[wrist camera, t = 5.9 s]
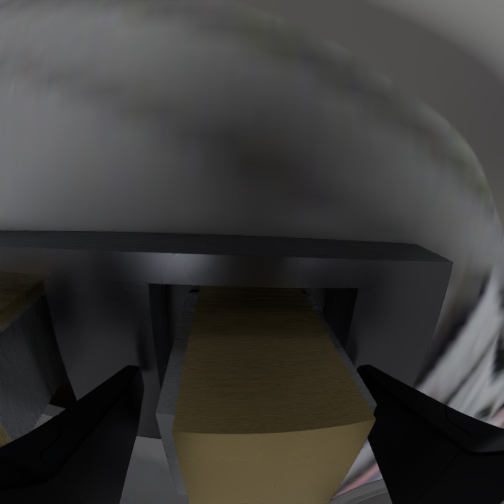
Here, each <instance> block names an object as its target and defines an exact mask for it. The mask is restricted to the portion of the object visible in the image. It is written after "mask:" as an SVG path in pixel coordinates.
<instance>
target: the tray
mask: <svg viewBox="0 0 504 504" xmlns="http://www.w3.org/2000/svg"><path fill="white" fill-rule="evenodd" d="M452 265H453V262H452V261H450V260H448V259H446V258H444V257H442V256H440V255H438V254H436V253H433V252H431V251H429V250H427V249H425V248H423V247H421V246H419V245H416V244H400V243H383V242H366V241H347V240H328V239H307V238H285V237H262V236H236V235H208V234H176V233H139V232H88V231H0V271H5V272H15V273H24V274H34V275H43V280H44V286H45V292H46V297H47V302H48V306H49V311H50V315H51V319H52V324H53V328H54V331H55V335H56V339H57V342H58V346H59V349H60V353H61V356H62V359H63V362H64V366H65V369H66V372H67V375H66V376H65V378H64V380H63V381H62V383H61V384H60V386H59V387H58V389H57V390H56V392H55V394H54V395H53V397H52V398H51V400H50V402H49V403H48V405H47V407H46V408H45V410H44V412H43V414H46V415H49V416H52V417H54V416H56V415H59V413H60V412H62V411H63V410H65V409H66V408H68V407H69V406H70V405H72V404H73V403H75V402H76V401H78V400H79V399H80V398H82V397H83V396H85V395H86V394H87V393H89V392H90V391H92V390H93V389H95V388H96V387H97V386H99V385H100V384H102V383H103V382H104V381H106V380H107V379H109V378H110V377H111V376H113V375H114V374H116V373H117V372H118V371H120V370H121V369H123V368H124V367H125V366H127V365H135V366H139V367H140V368H141V372H142V377H143V382H144V395H143V401H142V408H141V414H140V421H139V427H138V432H137V436H141V437H148V438H156V439H162V438H161V434H160V430H159V426H158V422H157V418H156V410H157V406H158V401H159V397H160V393H161V389H162V385H163V381H164V377H165V374H166V370H167V366H168V362H169V358H170V355H171V346H170V335H169V322H168V308H167V290H166V284H176V285H200V286H228V287H270V288H328V294H327V300H326V306H325V312H324V318H325V320H326V322H327V323H328V325H329V326H330V328H331V330H332V331H333V333H334V335H335V336H336V338H337V339H338V341H339V343H340V344H341V346H342V347H343V349H344V351H345V352H346V354H347V356H348V357H349V359H350V361H351V362H352V364H353V365H354V367H355V369H356V370H357V368H358V366H360V365H367V364H370V365H372V366H374V367H376V368H377V369H379V370H381V371H383V372H385V373H386V374H388V375H390V376H392V377H394V378H396V379H397V380H399V381H401V382H403V383H405V384H407V385H409V386H410V387H412V386H413V384H414V382H415V380H416V377H417V375H418V373H419V370H420V368H421V365H422V363H423V360H424V358H425V355H426V352H427V350H428V347H429V344H430V341H431V339H432V336H433V333H434V330H435V327H436V324H437V321H438V317H439V314H440V311H441V307H442V304H443V301H444V297H445V293H446V290H447V286H448V282H449V278H450V273H451V269H452Z"/></svg>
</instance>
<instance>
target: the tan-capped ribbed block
mask: <svg viewBox="0 0 504 504" xmlns="http://www.w3.org/2000/svg"><path fill="white" fill-rule="evenodd" d="M66 375H67V372H66V369H65V366H64V362H63V359H62V356H61V353H60V349H59V346H58V342H57V339H56V335H55V331H54V328H53V324H52V319H51V315H50V311H49V306H48V302H47V297H46V292H45V286H44V280H43V275H34V274H24V273H15V272H5V271H0V447H2V446H4V445H6V444H8V443H9V442H11V441H13V440H15V439H17V438H19V437H21V436H23V435H25V434H27V433H29V432H31V431H32V430H33V429H34V427H35V425H36V423H37V422H38V420H39V418H40V417H41V415H42V413H43V412H44V410H45V408H46V407H47V405H48V403H49V402H50V400H51V398H52V397H53V395H54V394H55V392H56V390H57V389H58V387H59V386H60V384H61V383H62V381H63V380H64V378H65V376H66Z"/></svg>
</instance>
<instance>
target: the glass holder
mask: <svg viewBox="0 0 504 504" xmlns="http://www.w3.org/2000/svg"><path fill="white" fill-rule="evenodd" d="M328 504H392V501H391V499H390V496H389V493H388V490H387V488H386V485H385V482H384V480H383V479H381V480H378V481H374V482H371V483H368V484H365V485H363V486H360V487H358V488H355V489H353V490H350V491H348V492H346V493H344V494H342V495H340V496H338V497H336V498H334V499H332V500H331V501H330V502H329V503H328Z"/></svg>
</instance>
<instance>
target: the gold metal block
mask: <svg viewBox="0 0 504 504" xmlns="http://www.w3.org/2000/svg"><path fill="white" fill-rule="evenodd" d="M376 406H377V404H376V402H375V400H374V399H373V397H372V395H371V394H370V392H369V390H368V389H367V387H366V385H365V384H364V382H363V380H362V379H361V377H360V375H359V374H358V372H357V370H356V369H355V367H354V365H353V364H352V362H351V361H350V359H349V357H348V356H347V354H346V352H345V351H344V349H343V347H342V346H341V344H340V343H339V341H338V339H337V338H336V336H335V335H334V333H333V331H332V330H331V328H330V326H329V325H328V323H327V322H326V320H325V318H324V317H323V315H322V314H321V312H320V311H319V309H318V307H317V306H316V304H315V303H314V301H313V299H312V298H311V296H310V295H309V294H304V293H303V292H302V290H301V288H270V287H228V286H200V288H199V292H188V295H187V298H186V301H185V305H184V308H183V312H182V315H181V319H180V322H179V326H178V329H177V333H176V336H175V340H174V344H173V347H172V351H171V355H170V358H169V362H168V366H167V370H166V374H165V377H164V381H163V385H162V389H161V393H160V397H159V401H158V406H157V410H156V418H157V422H158V426H159V430H160V434H161V438H162V442H163V446H164V450H165V453H166V457H167V460H168V464H169V467H170V471H171V474H172V477H173V480H174V483H175V486H176V489H177V492H178V495H188V499H189V502H190V504H328V503H329V502H330V500H331V499H332V497H333V496H334V494H335V493H336V491H337V490H338V488H339V487H340V485H341V483H342V482H343V480H344V478H345V477H346V475H347V473H348V472H349V470H350V468H351V467H352V465H353V463H354V461H355V459H356V458H357V456H358V454H359V452H360V450H361V448H362V446H363V445H364V443H365V441H366V439H367V437H368V435H369V433H370V431H371V429H372V427H373V425H374V422H375V420H376V419H375V417H374V415H373V413H374V410H375V408H376Z"/></svg>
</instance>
